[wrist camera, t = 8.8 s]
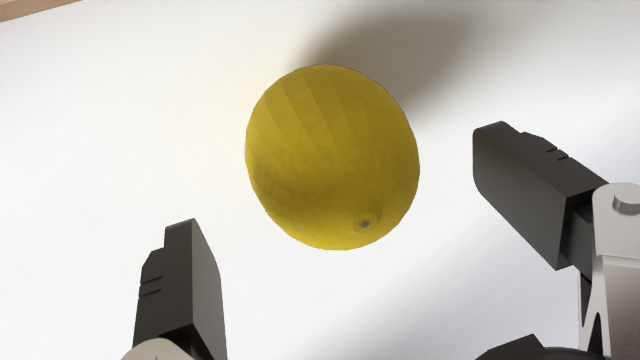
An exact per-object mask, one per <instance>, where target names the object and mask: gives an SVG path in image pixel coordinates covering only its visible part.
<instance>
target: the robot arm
mask: <svg viewBox="0 0 640 360" xmlns="http://www.w3.org/2000/svg"><path fill="white" fill-rule="evenodd" d="M473 178H474V182H475V184H476V187H477V189H478V191H479V192H480V194H481V195H482V196H483V197H484V198H485V199H486V200H487V201H488V202H489V203H490V204H491V205H492V206H493V207H494V208H495V209H496V210H497V211H498V212H499V213H500V214H501V215H502V216H503V217H504V218H505V219H506V220H507V221H508V222H509V223H510V225H511V226H512V227H513V228H514V229H515V230H516V231H517V232H518V233H519V234H520V235H521V236H522V237H523V238H524V239H525V240H526V241H527V242H528V243H529V244H530V245H531V246H532V247H533V248H534V249H535V250H536V251H537V252H538V253H539V254H540V255H541V256H542V257H543V258H544V259H545V260H546V261H547V262H548V264H549V265H550V266H551V267H552V268H553V269H554V270H555V271H557V270H560V269H563V268H566V267H569V266H571V265H574V266H575V267H576V268H577V269H578V270H579V272H578V278H577V289H578V325H579V346H578V349H573V348H565V347H543V345H542V344H541V343H540V342H539V340H538V339H537V338H536V337H535V335H534V334H530V335H528V336H525V337H522V338H519V339H517V340H514V341H511V342H508V343H506V344H503V345H500V346H497V347H495V348H492V349H489V350H488V351H486V352H485V353H484V354H482V355H481V356H479V357H478V358H477V359H475V360H640V185H637V184H632V183H611V184H610V183H608V182H607V181H605V180H604V179H602V178H601V177H599V176H598V175H597V174H595V173H594V172H592V171H591V170H589V169H588V168H586V167H585V166H583V165H582V164H581V163H579V162H578V161H576V160H575V159H573V158H572V157H570V158H569V156H568V155H567V154H566V153H565V152H563V151H562V150H560V149H559V150H558V149H557V147H556V146H554V145H553V144H551V143H550V142H549V141H547V140H546V139H544V138H542V137H539V136H536V135H533V134H530V133H527V132H522V133H519V132H518V131H517V130H515V129H514V128H513V127H511V126H510V125H508V124H507V123H505V122H504V121H499V122H496V123H493V124H490V125H486V126H483V127H480V128H477V129H475V130H474V132H473ZM140 284H141V286H140V288H139V299H138V305H137V313H136V321H135V329H134V337H133V346H132V349H131V350H130V351H129V352H127V353H126V354H125V355H124V356H123V358H122V359H121V360H227V348H226V337H225V325H224V313H223V301H222V290H221V279H220V274H219V270H218V266H217V263H216V261H215V258H214V256H213V254H212V252H211V250H210V248H209V246H208V244H207V242H206V239H205V237H204V235H203V233H202V231H201V229H200V227H199V225H198V223H197V221H196V220H195V219H194V218H192V219H189V220H186V221H183V222H179V223H176V224H173V225H170V226H167V227H166V228H165V238H164V247H163V248H160V249H157V250H154V251H151V253H150V255H149V256H148V258H147V260H146V262H145V263H144V265H143V267H142V272H141V280H140Z"/></svg>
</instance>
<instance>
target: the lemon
mask: <svg viewBox="0 0 640 360" xmlns="http://www.w3.org/2000/svg"><path fill="white" fill-rule="evenodd" d="M245 161H246V165H247V170H248V174H249V178H250V182H251V185H252V187H253V190H254V192H255V193H256V195H257V197H258V199H259V200H260V202H261V204H262V206H263V207H264V209H265V211H266V212H267V214H268V215H269V216H270V218H271V219H272V220H273V221H274V222H275V223H276V224H277V225H278V226H279V227H280V228H281V229H283V230H284V231H285V232H286V233H287V234H288V235H289V236H291V237H292V238H294V239H296V240H298V241H300V242H302V243H304V244H306V245H309V246H311V247H315V248H320V249H324V250H350V249H355V248H360V247H363V246H365V245H368V244H370V243H373V242H375V241H377V240H378V239H380V238H382V237H383V236H385V235H386V234H388V233H389V232H390V231H391V230H392V229H393V228H394V227H395V226H396V225H398V223H399V222H400V221H401V219H402V218H403V217H404V215H405V214H406V212H407V211H408V210H409V208H410V206H411V204H412V201H413V199H414V197H415V195H416V191H417V187H418V181H419V175H420V164H419V156H418V148H417V143H416V140H415V137H414V134H413V132H412V130H411V127H410V125H409V123H408V121H407V118H406V116H405V114H404V112H403V110H402V109H401V107H400V106H399V105H398V103H397V102H396V101H395V100H394V99H393V98H392V97H391V95H390V94H389V93H388V92H387V91H386V90H385V89H384V88H383V87H382V86H381V85H380V84H378V83H377V82H375V81H373V80H372V79H370V78H368V77H367V76H365V75H364V74H362V73H360V72H358V71H355V70H352V69H348V68H345V67H341V66H338V65H313V66H309V67H305V68H301V69H297V70H295V71H293V72H291V73H289V74H287V75H285V76H283V77H281V78H280V79H279V80H277V81H276V82H275V83H274V84H273V85H272V86H271V87H269V88H268V89H267V90H266V91H265V92H264V94H263V95H262V97H261V98H260V100H259V101H258V103H257V104H256V106H255V107H254V109H253V112H252V115H251V118H250V121H249V123H248V126H247V130H246V142H245Z"/></svg>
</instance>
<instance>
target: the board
mask: <svg viewBox="0 0 640 360" xmlns="http://www.w3.org/2000/svg"><path fill="white" fill-rule="evenodd" d="M77 1H81V0H0V23H1V22H4V21H8V20H12V19H15V18H19V17H23V16H26V15H30V14H34V13H37V12H41V11H45V10H48V9H52V8H55V7H59V6H63V5H66V4H70V3H74V2H77Z"/></svg>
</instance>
